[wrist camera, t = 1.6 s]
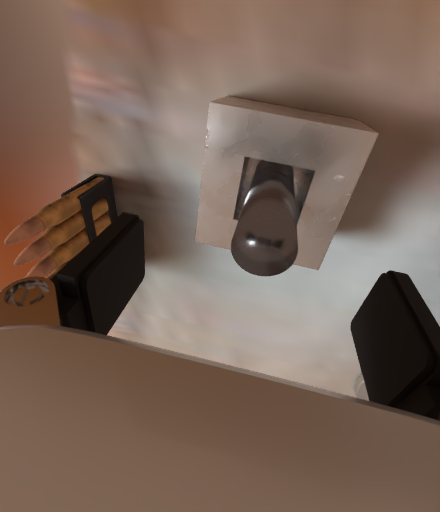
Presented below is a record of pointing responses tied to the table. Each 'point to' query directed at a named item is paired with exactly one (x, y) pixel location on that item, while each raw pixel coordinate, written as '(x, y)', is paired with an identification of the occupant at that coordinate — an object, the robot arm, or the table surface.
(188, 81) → the table surface
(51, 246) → the ammunition clip
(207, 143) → the block
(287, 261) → the pin
